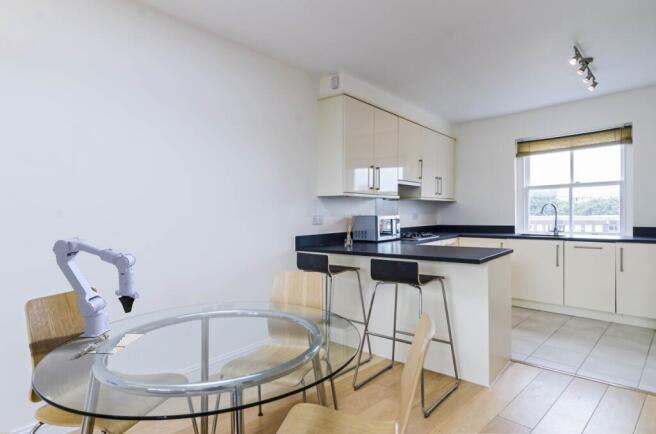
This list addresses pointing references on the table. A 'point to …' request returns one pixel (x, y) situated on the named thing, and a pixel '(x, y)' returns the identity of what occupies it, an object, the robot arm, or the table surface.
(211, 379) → the table surface
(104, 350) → the table surface
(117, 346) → the mat
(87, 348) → the soldier figure
